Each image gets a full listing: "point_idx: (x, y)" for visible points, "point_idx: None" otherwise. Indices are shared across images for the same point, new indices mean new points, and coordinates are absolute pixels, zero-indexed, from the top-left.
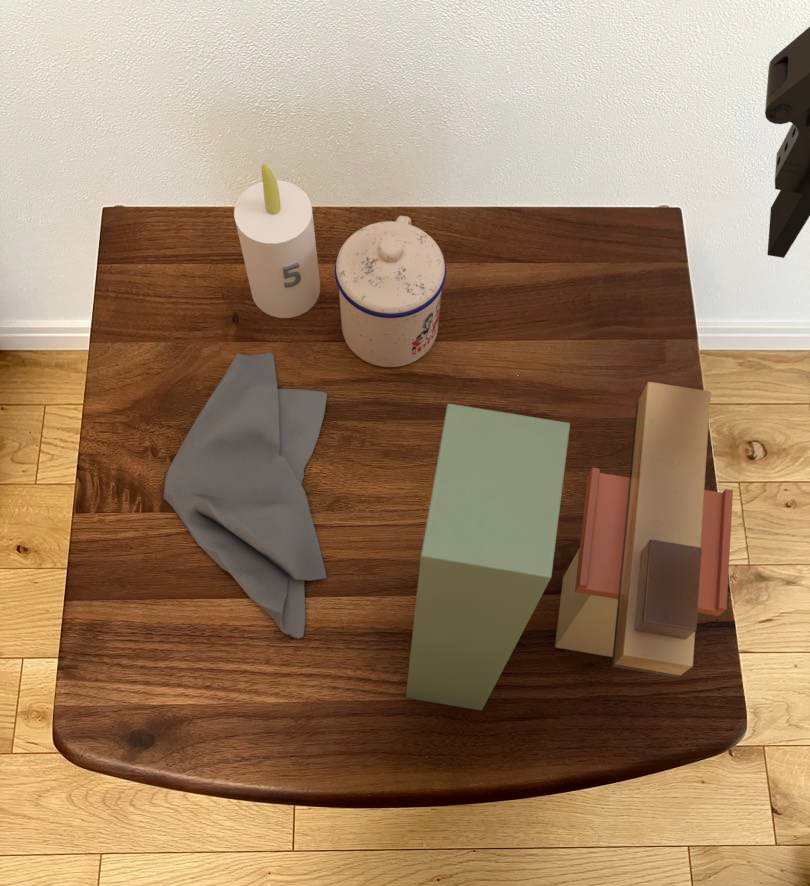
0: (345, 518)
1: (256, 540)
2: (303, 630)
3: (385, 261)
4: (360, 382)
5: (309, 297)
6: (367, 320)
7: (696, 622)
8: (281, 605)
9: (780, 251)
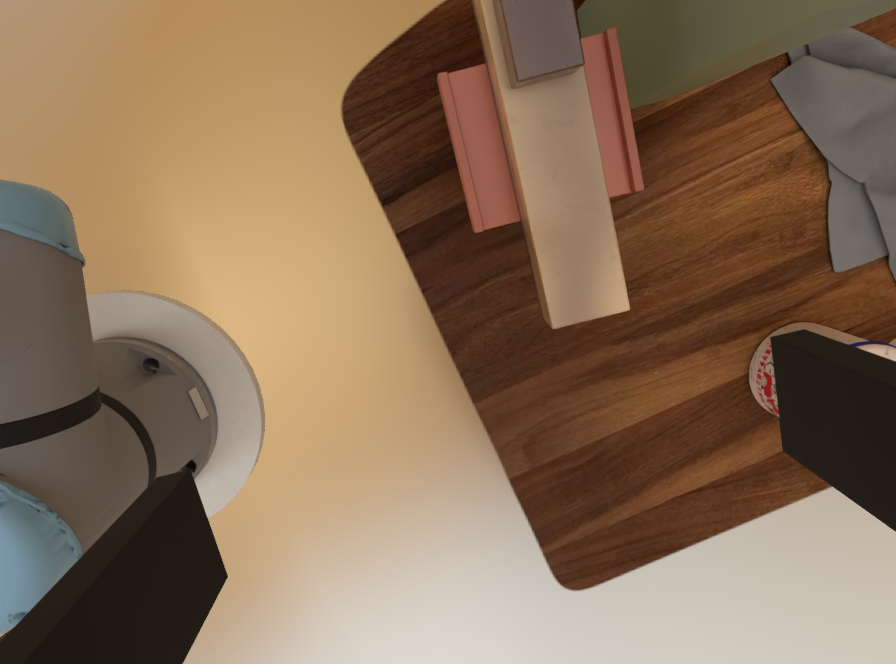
0: (772, 150)
1: (863, 75)
2: None
3: None
4: (804, 299)
5: None
6: (858, 339)
7: None
8: None
9: (793, 338)
